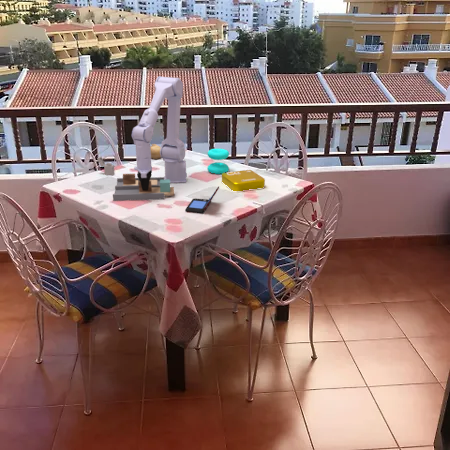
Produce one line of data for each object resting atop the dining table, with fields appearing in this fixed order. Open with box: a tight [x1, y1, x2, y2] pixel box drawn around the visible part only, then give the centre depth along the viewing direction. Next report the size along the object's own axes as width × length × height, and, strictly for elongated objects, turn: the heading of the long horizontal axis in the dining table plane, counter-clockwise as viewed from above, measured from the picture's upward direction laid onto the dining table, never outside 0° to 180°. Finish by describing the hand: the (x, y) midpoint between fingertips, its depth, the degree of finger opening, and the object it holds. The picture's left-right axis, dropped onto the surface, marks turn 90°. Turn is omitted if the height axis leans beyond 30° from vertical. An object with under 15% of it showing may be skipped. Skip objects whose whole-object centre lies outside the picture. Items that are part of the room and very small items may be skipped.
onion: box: [150, 143, 162, 160], centre depth 240 cm, size 8×8×7 cm
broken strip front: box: [122, 173, 138, 186], centre depth 201 cm, size 6×8×5 cm
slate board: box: [112, 176, 165, 202], centre depth 198 cm, size 20×20×2 cm
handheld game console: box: [185, 186, 220, 215], centre depth 182 cm, size 12×11×7 cm
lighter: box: [97, 156, 116, 176], centre depth 215 cm, size 7×2×8 cm, turn 77°
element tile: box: [221, 169, 266, 192], centre depth 207 cm, size 15×15×5 cm
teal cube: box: [160, 179, 171, 192], centre depth 193 cm, size 4×4×4 cm
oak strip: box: [139, 181, 175, 197], centre depth 193 cm, size 14×8×5 cm, turn 97°
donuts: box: [206, 148, 230, 175], centre depth 222 cm, size 10×10×10 cm
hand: (145, 189), depth 193 cm, fingers closed on oak strip, 2 cm apart
